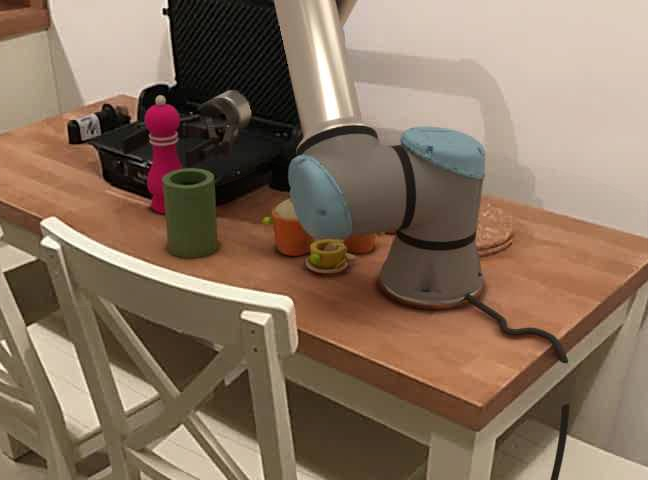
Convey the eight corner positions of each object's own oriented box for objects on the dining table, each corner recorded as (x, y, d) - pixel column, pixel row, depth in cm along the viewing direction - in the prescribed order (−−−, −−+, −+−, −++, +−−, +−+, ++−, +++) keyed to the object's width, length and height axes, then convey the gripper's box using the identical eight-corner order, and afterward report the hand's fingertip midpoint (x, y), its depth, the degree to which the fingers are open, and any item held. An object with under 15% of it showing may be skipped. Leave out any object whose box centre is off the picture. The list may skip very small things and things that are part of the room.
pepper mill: (141, 210, 164) (130, 99, 153) (163, 196, 169) (153, 87, 158) (176, 217, 161) (167, 104, 150) (196, 202, 167) (189, 91, 155)
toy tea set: (328, 284, 140) (330, 225, 134) (253, 255, 149) (252, 199, 143) (424, 227, 155) (429, 173, 149) (351, 204, 164) (353, 152, 158)
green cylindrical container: (226, 250, 150) (222, 180, 143) (181, 262, 147) (175, 191, 140) (204, 232, 156) (200, 164, 149) (160, 243, 153) (154, 174, 146)
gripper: (279, 147, 168) (216, 187, 154) (170, 126, 179) (101, 162, 165) (279, 106, 164) (214, 143, 149) (167, 88, 175) (96, 121, 161)
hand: (155, 153), depth 157 cm, fingers open, 13 cm apart
